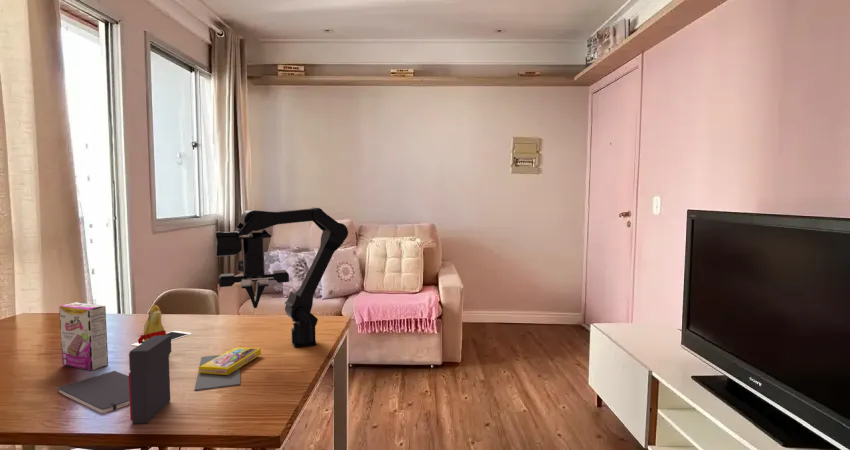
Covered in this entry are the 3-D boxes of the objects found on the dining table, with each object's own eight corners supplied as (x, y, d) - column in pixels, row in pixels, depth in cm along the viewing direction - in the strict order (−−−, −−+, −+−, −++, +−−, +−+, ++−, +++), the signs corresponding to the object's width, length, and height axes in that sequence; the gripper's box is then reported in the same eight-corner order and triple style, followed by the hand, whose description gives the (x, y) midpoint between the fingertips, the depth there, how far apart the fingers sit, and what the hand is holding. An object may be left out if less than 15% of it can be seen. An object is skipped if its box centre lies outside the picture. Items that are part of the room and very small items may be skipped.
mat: (239, 353, 142) (239, 352, 142) (240, 384, 119) (240, 383, 119) (201, 357, 138) (201, 356, 138) (194, 390, 116) (194, 389, 116)
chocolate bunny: (159, 351, 144) (157, 300, 143) (173, 360, 136) (171, 306, 135) (133, 357, 139) (131, 304, 138) (145, 366, 131) (143, 311, 130)
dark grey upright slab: (153, 401, 110) (150, 335, 109) (173, 400, 110) (171, 334, 109) (128, 424, 99) (124, 351, 98) (150, 424, 99) (147, 351, 98)
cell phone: (130, 346, 149) (130, 344, 149) (174, 332, 164) (174, 330, 164) (149, 349, 146) (149, 347, 146) (192, 335, 161) (192, 333, 161)
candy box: (227, 367, 124) (197, 366, 125) (228, 375, 124) (198, 375, 125) (260, 347, 139) (234, 346, 141) (261, 354, 140) (234, 354, 141)
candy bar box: (60, 366, 131) (57, 305, 130) (79, 360, 136) (76, 301, 135) (91, 371, 128) (88, 309, 126) (109, 365, 132) (106, 304, 131)
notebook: (162, 395, 115) (114, 376, 126) (161, 388, 114) (114, 370, 126) (102, 416, 104) (56, 394, 115) (102, 409, 104) (56, 387, 115)
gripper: (284, 249, 152) (285, 299, 154) (218, 252, 145) (220, 304, 146) (288, 253, 142) (290, 307, 143) (218, 257, 135) (220, 313, 136)
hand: (255, 307), depth 143 cm, fingers closed
